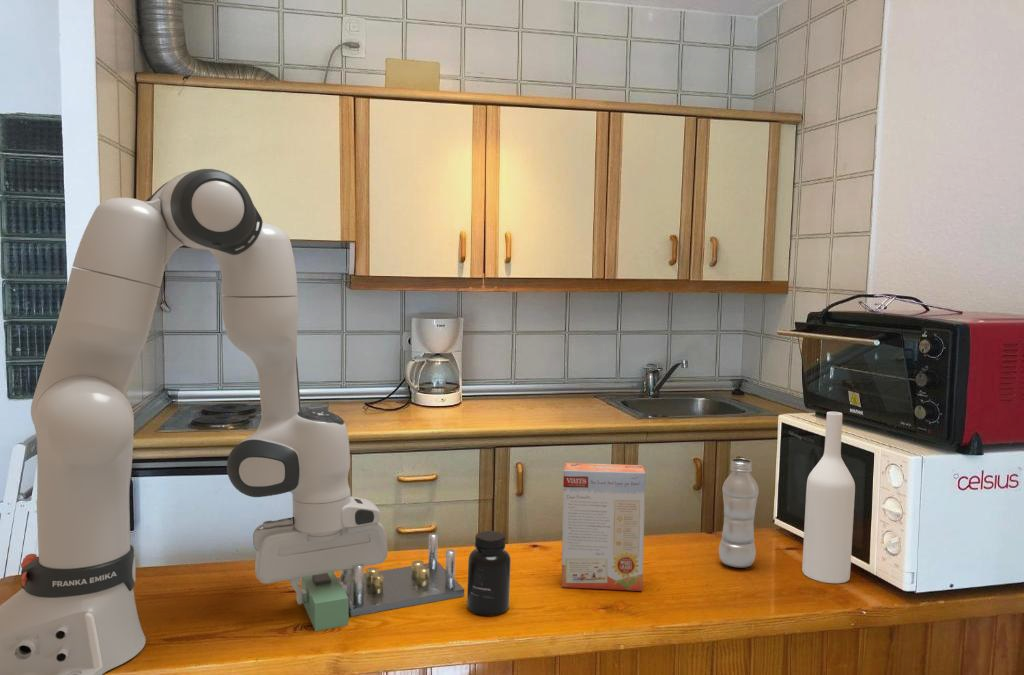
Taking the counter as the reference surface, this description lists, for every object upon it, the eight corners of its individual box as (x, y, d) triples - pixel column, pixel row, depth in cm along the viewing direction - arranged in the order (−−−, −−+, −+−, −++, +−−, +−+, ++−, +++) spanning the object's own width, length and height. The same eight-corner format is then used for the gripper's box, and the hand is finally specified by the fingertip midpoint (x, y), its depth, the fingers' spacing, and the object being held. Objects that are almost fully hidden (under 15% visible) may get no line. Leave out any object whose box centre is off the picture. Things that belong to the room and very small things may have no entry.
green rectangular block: (348, 626, 115) (348, 594, 114) (315, 632, 113) (314, 599, 112) (332, 595, 125) (331, 566, 125) (301, 600, 123) (301, 570, 123)
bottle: (855, 585, 133) (865, 418, 130) (807, 582, 134) (816, 415, 131) (843, 568, 141) (852, 409, 138) (797, 564, 142) (805, 407, 139)
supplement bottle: (472, 619, 117) (473, 544, 116) (463, 600, 124) (464, 529, 123) (514, 614, 119) (516, 541, 118) (503, 596, 126) (504, 526, 125)
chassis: (351, 616, 117) (351, 572, 117) (333, 585, 129) (332, 544, 128) (464, 596, 126) (464, 554, 125) (437, 568, 137) (438, 529, 137)
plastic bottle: (711, 560, 143) (715, 457, 141) (742, 557, 145) (746, 455, 144) (730, 573, 137) (735, 466, 135) (762, 570, 139) (767, 463, 137)
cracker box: (640, 578, 134) (644, 463, 132) (642, 593, 128) (646, 472, 126) (561, 574, 135) (564, 460, 134) (560, 588, 129) (563, 469, 128)
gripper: (255, 529, 110) (258, 620, 112) (390, 510, 120) (390, 594, 121) (249, 516, 116) (251, 603, 117) (378, 499, 125) (379, 579, 127)
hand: (323, 598), depth 119 cm, fingers open, 5 cm apart
